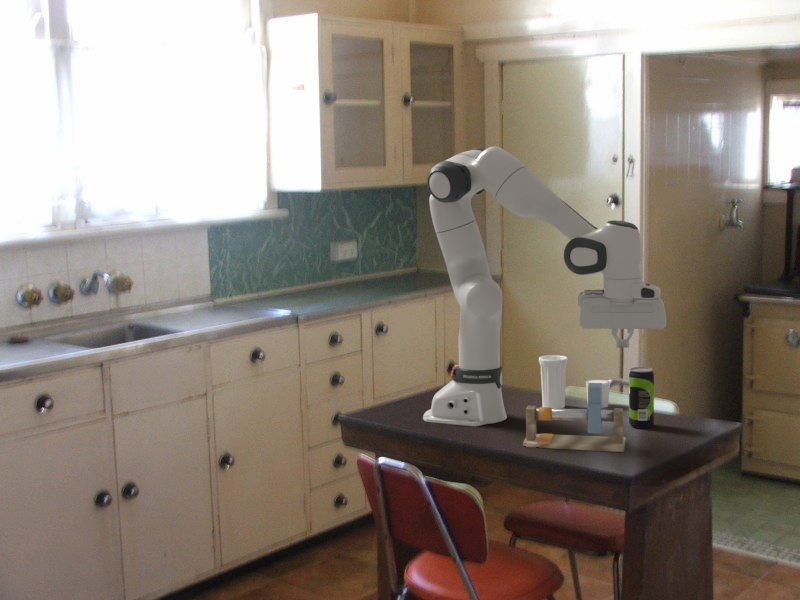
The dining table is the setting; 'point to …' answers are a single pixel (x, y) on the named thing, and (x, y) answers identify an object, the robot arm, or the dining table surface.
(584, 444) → the pipe stand
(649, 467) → the dining table surface
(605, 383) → the small white cup
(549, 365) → the cup
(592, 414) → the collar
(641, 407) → the beverage can
